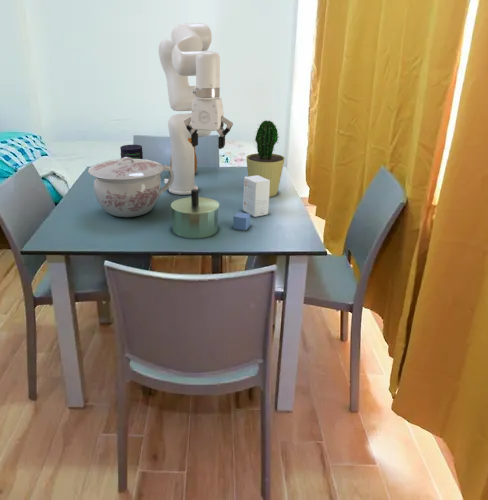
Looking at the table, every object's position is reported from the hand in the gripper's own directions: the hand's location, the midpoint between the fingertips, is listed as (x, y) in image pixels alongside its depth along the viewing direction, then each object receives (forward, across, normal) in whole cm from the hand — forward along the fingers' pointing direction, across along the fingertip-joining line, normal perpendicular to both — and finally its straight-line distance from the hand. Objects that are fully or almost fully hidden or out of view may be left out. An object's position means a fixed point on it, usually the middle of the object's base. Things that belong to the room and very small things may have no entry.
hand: (207, 147), depth 163 cm
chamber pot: (+26, -31, -4) cm, 41 cm away
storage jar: (+25, -53, +32) cm, 67 cm away
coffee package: (+25, -37, +51) cm, 68 cm away
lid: (+18, -1, -9) cm, 20 cm away
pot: (+27, -1, -9) cm, 28 cm away
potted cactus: (+26, +6, +40) cm, 48 cm away
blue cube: (+27, +13, 0) cm, 30 cm away
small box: (+27, +12, +16) cm, 33 cm away
